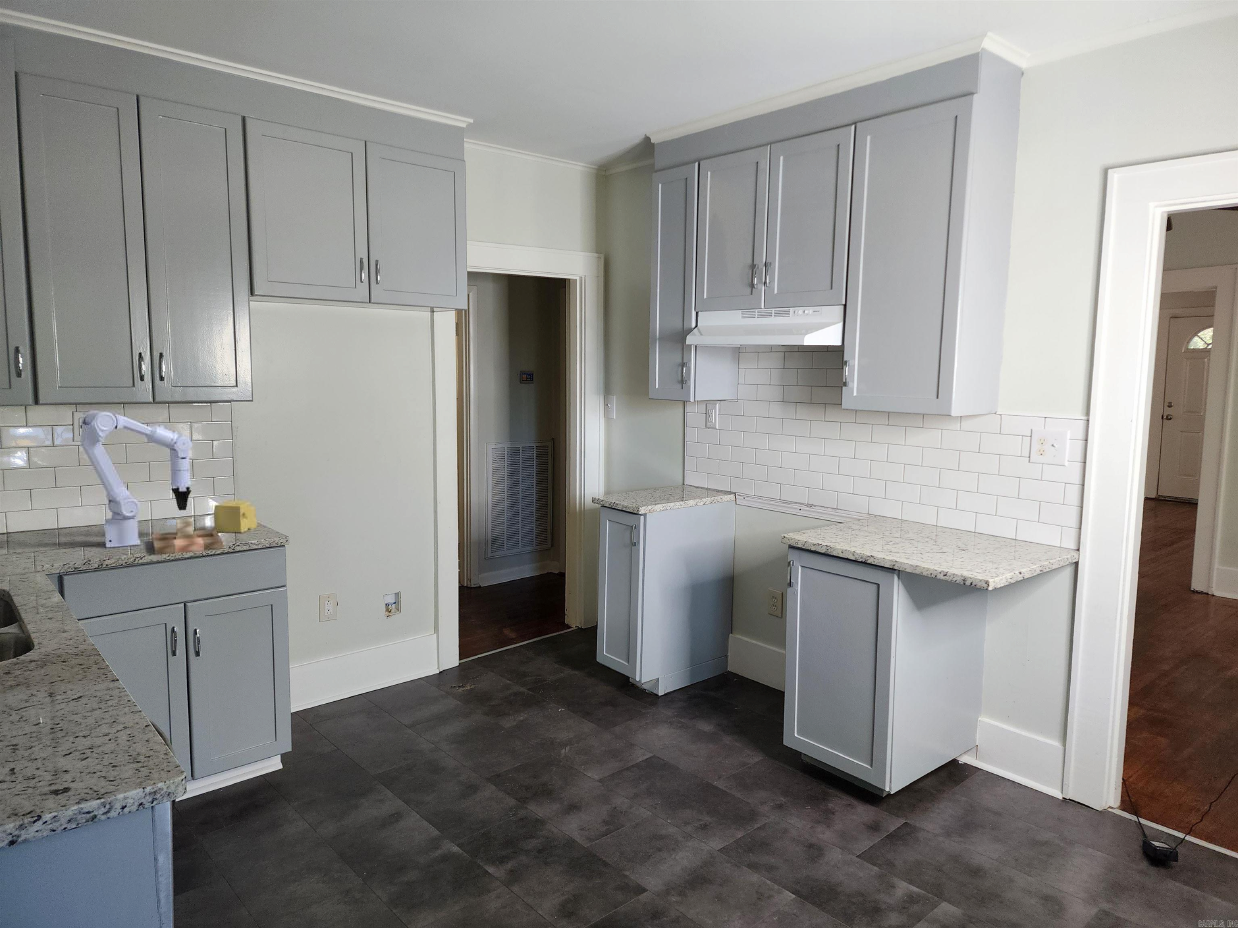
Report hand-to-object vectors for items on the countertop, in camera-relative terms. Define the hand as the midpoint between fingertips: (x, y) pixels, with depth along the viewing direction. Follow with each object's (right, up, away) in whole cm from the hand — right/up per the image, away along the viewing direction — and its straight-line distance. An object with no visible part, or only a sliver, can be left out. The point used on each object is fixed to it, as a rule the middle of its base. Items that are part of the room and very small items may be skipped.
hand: (182, 509), depth 280 cm
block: (+5, -8, -7) cm, 11 cm away
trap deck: (+8, -11, -12) cm, 19 cm away
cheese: (+12, -9, +13) cm, 20 cm away
